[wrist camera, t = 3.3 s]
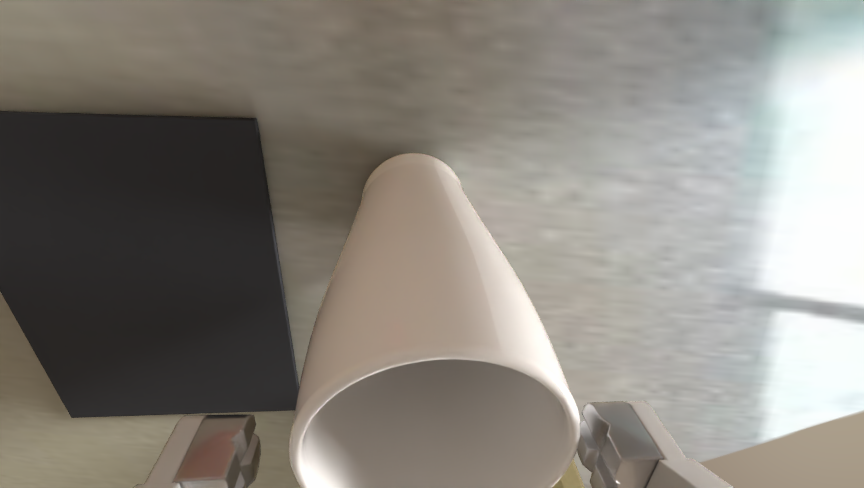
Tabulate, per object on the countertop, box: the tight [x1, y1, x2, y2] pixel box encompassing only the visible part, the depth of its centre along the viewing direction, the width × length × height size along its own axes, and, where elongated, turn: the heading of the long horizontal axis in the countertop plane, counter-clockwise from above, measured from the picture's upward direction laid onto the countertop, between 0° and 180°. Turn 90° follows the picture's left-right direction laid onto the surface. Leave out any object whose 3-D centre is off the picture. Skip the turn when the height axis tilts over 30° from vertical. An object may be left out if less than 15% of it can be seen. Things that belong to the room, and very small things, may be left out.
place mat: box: [0, 111, 299, 418], centre depth 24 cm, size 20×15×1 cm
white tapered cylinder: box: [289, 153, 581, 488], centre depth 16 cm, size 7×7×15 cm
